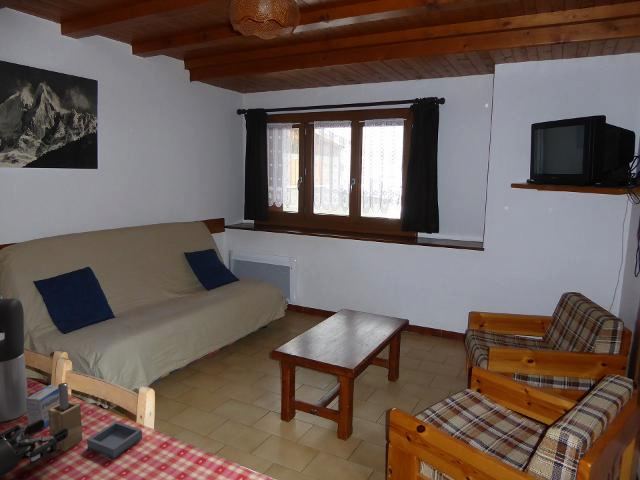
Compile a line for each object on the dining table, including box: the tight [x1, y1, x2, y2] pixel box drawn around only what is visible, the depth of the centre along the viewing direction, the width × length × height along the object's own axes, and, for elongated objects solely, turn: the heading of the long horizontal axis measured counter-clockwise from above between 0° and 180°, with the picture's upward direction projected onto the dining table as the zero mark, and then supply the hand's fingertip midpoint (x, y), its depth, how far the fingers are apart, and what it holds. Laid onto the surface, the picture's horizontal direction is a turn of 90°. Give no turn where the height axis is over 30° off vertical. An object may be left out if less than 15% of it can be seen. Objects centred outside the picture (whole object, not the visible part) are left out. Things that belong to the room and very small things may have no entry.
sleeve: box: [48, 400, 83, 452], centre depth 114 cm, size 5×5×10 cm
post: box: [57, 382, 70, 412], centre depth 114 cm, size 2×2×16 cm
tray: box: [86, 421, 143, 460], centre depth 115 cm, size 9×9×2 cm
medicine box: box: [26, 384, 59, 430], centre depth 123 cm, size 8×4×9 cm, turn 168°
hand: (54, 427), depth 111 cm, fingers open, 8 cm apart
